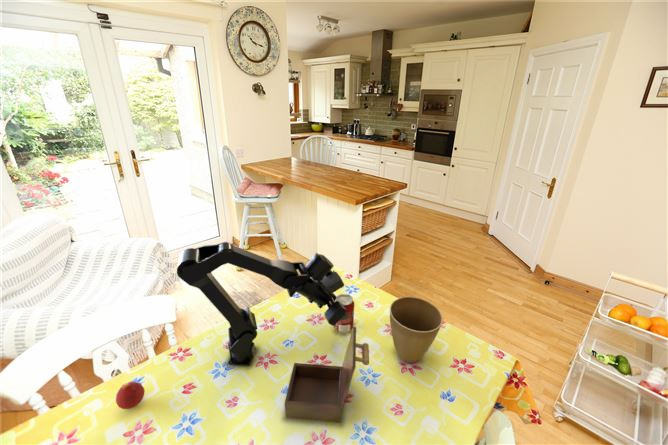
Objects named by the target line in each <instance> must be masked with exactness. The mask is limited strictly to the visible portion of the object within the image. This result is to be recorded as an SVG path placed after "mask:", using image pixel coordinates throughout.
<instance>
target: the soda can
mask: <svg viewBox="0 0 668 445" xmlns="http://www.w3.org/2000/svg"><path fill="white" fill-rule="evenodd" d="M353 299H354V298H353V297H352V296H351V295H350V294H348V293H339V294H338V295H336V300H335V301H334V302H336V301H339V302H341V303H342V304H343V305H344V307H345V308H346V313H347V314H348V315H349V316H350V318H349V319H346V320H339V321H338V322H337V324H336V325H335V326H333V329H334V330H335V331H337V332H339V333H341V334H346V333H349V332H352V330H353V327H354V319H355V301H354V300H353Z"/></svg>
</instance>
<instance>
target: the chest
mask: <svg viewBox="0 0 668 445" xmlns="http://www.w3.org/2000/svg"><path fill="white" fill-rule="evenodd" d="M341 377H342V365H341V366H339V365H326V364H313V363H312V364H311V363H300V362H294V363H293V366H292V371H291V375H290V379H289V383H288V388H287V392H286V396H285V401H284V414H285V418H286V419H296V420H297V419H298V420H309V421H317V422H318V421H319V422H329V423H331V422H332V423H341V421H342V420H341V419H342V407H340V393H341Z"/></svg>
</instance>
